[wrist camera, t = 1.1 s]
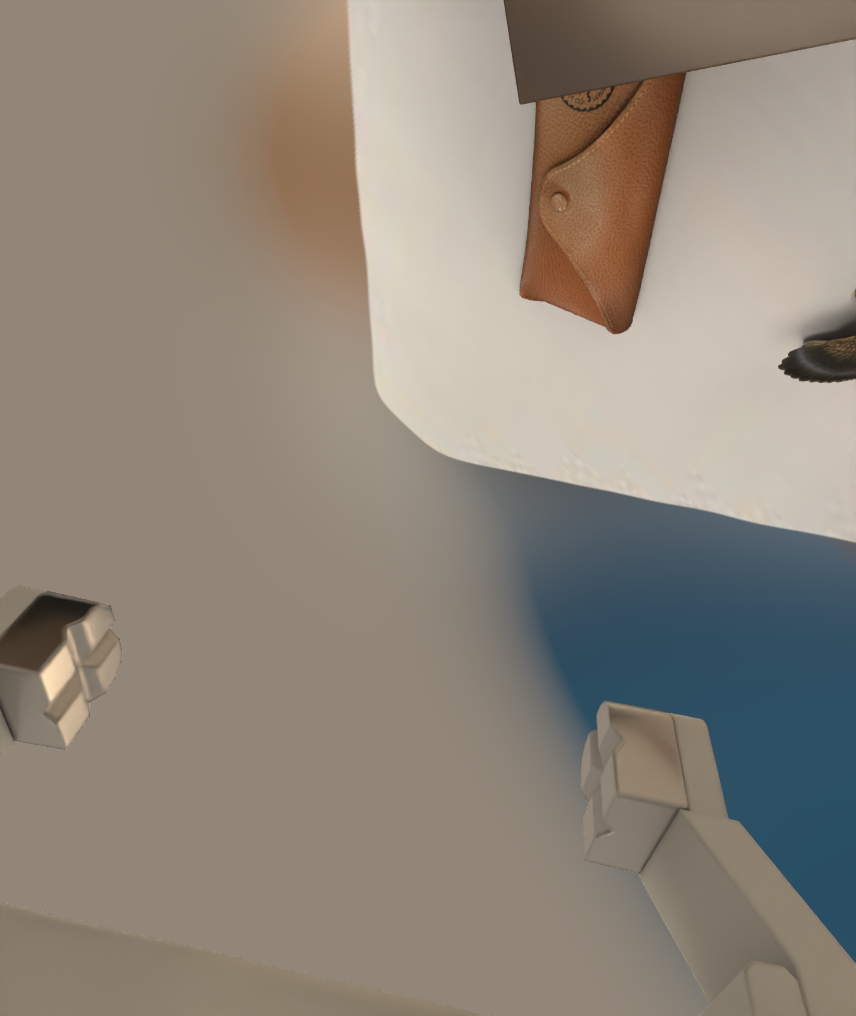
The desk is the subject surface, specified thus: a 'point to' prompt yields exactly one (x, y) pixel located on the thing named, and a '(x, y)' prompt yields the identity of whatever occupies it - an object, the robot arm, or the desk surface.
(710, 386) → the desk surface
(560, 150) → the sunglasses case
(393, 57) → the desk surface
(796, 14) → the cabinet
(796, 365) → the eagle figurine
